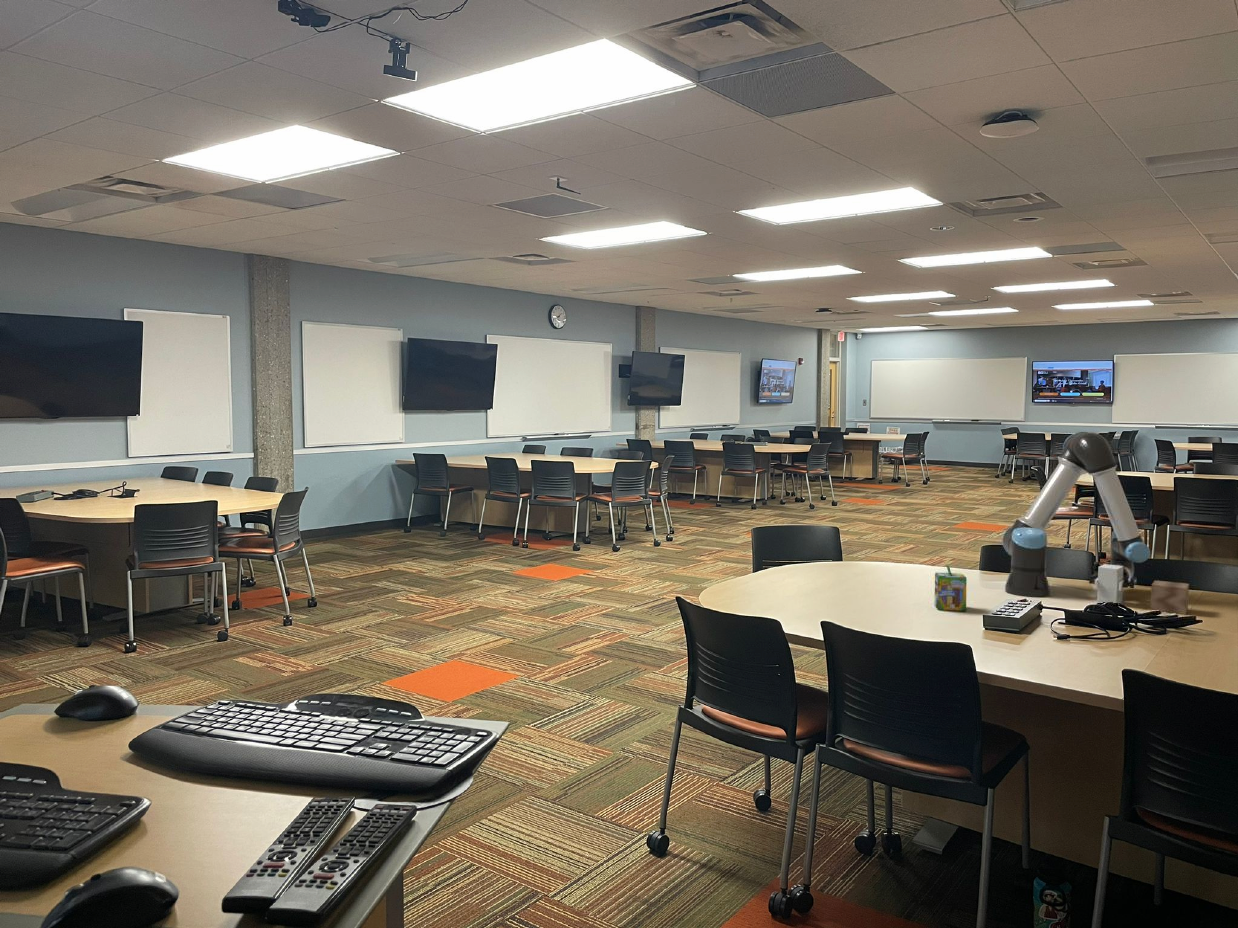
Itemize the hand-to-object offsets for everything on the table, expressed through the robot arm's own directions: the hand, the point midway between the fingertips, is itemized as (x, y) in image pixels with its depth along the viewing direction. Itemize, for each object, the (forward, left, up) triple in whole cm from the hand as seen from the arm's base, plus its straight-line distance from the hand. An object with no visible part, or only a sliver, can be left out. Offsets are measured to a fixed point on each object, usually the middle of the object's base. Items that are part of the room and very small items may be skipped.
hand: (1107, 585), depth 313 cm
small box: (0, +5, -7) cm, 9 cm away
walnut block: (+18, +5, -7) cm, 20 cm away
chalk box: (-42, -39, -7) cm, 58 cm away
